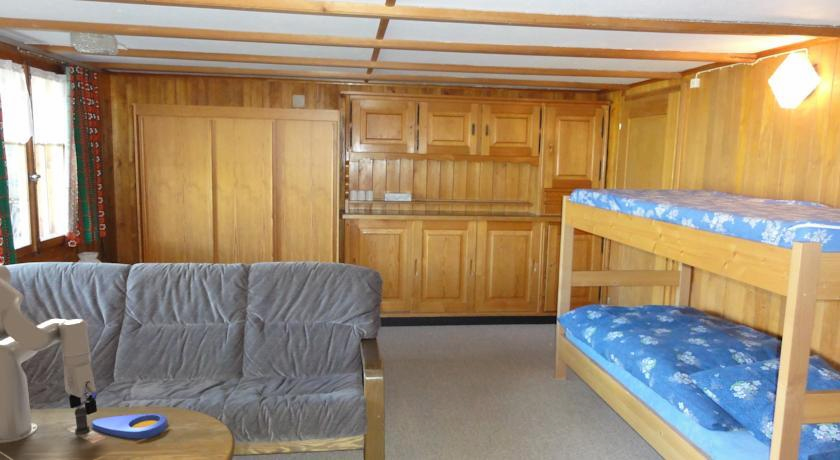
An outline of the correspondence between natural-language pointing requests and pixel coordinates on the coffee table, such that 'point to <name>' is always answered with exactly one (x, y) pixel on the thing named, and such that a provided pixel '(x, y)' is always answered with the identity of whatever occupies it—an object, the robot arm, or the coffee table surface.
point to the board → (88, 435)
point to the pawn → (81, 421)
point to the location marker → (132, 425)
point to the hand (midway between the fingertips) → (83, 409)
